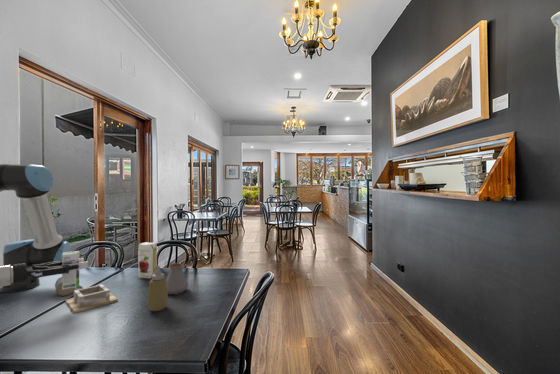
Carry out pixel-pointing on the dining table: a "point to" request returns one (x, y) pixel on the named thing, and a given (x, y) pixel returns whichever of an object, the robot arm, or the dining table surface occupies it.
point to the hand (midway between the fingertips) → (85, 262)
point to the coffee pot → (177, 278)
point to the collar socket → (90, 298)
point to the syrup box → (73, 276)
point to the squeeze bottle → (157, 291)
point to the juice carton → (147, 259)
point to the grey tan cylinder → (66, 291)
